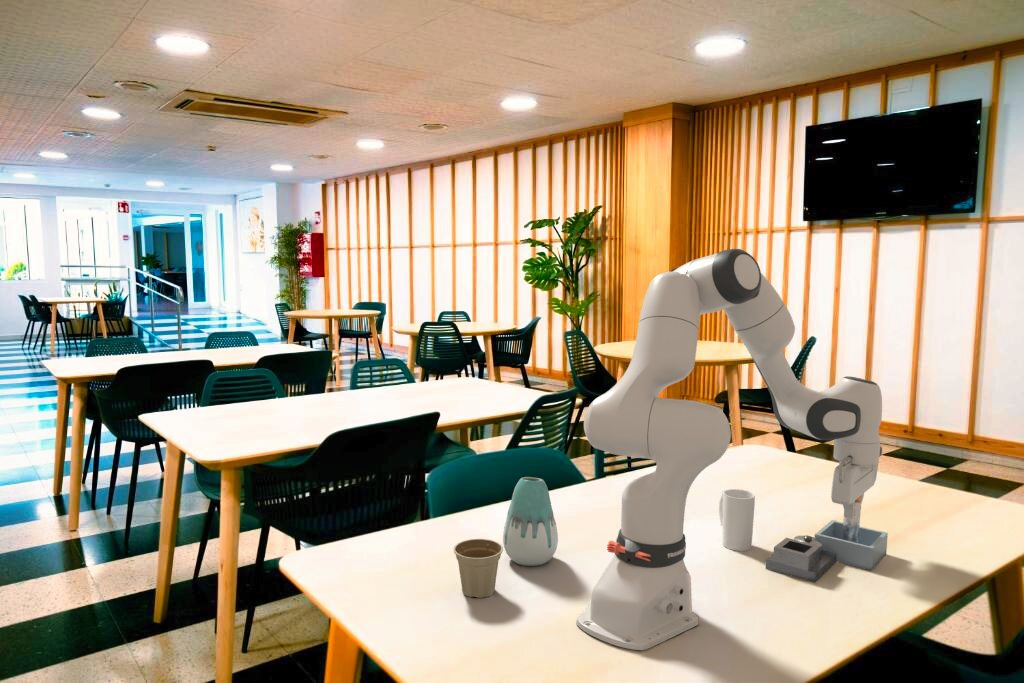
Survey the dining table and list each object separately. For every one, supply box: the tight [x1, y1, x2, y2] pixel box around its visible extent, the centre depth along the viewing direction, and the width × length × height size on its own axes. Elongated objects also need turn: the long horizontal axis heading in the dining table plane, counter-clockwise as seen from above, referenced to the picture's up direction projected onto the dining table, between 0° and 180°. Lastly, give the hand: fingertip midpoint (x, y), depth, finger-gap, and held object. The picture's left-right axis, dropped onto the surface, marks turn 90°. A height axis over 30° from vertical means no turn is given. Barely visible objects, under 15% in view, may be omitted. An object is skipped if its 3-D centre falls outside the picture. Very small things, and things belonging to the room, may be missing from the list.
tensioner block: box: [765, 535, 837, 583], centre depth 149 cm, size 13×10×5 cm
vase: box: [502, 476, 559, 567], centre depth 150 cm, size 12×12×18 cm
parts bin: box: [814, 519, 889, 572], centre depth 155 cm, size 12×12×5 cm
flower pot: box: [453, 538, 504, 599], centre depth 136 cm, size 9×9×9 cm
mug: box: [718, 488, 756, 552], centre depth 160 cm, size 10×7×12 cm, turn 20°
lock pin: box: [842, 495, 862, 543], centre depth 154 cm, size 3×3×11 cm
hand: (852, 514), depth 154 cm, fingers closed on lock pin, 3 cm apart
